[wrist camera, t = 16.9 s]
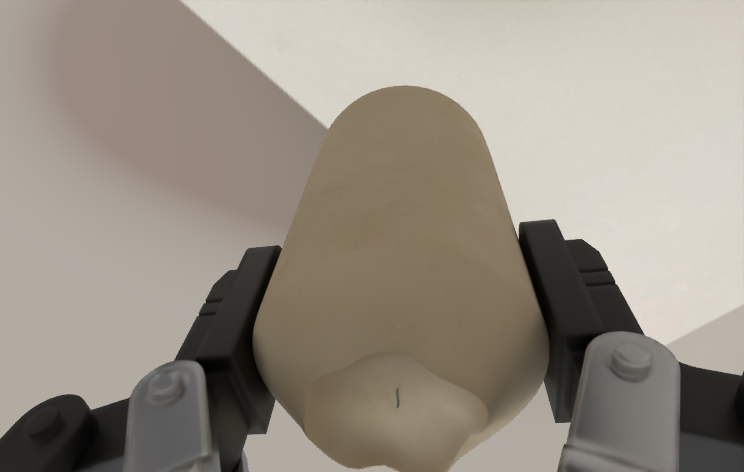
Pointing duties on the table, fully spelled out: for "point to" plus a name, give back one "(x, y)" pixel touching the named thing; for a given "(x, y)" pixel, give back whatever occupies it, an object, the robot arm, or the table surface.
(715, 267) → the table surface
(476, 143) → the candle
